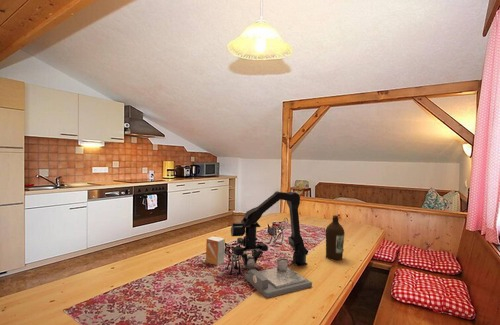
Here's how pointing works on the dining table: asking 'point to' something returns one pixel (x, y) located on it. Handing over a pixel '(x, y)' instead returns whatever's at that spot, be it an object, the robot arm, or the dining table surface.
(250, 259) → the steel spacer
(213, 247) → the small box
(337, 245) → the olive oil
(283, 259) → the cylinder
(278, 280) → the kitchen scale
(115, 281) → the dining table surface
